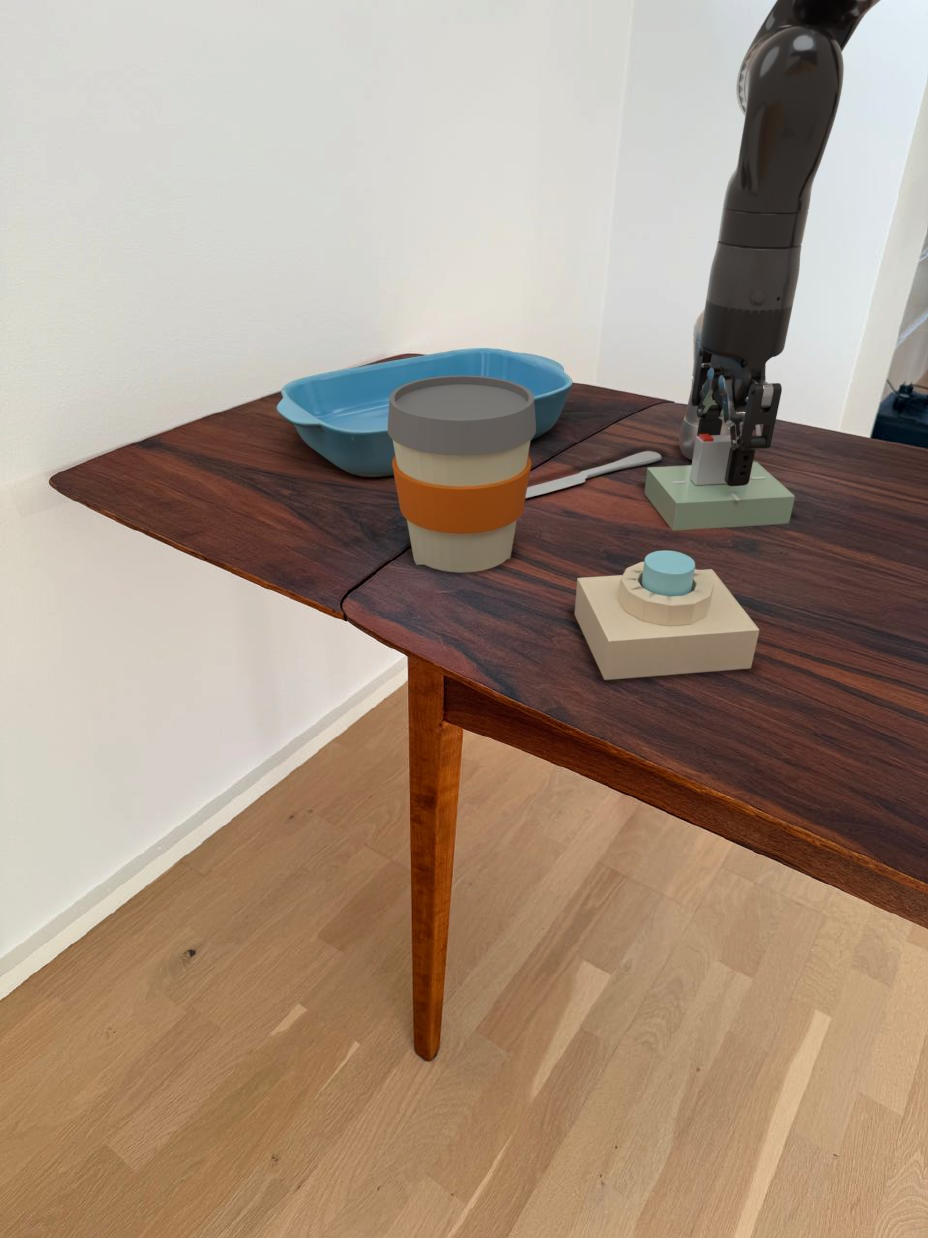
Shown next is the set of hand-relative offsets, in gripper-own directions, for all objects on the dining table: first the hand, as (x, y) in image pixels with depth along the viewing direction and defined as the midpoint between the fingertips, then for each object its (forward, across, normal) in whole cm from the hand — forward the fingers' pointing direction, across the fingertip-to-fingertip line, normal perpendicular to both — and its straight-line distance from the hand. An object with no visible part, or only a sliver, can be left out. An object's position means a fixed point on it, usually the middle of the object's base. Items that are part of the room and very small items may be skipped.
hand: (720, 468), depth 85 cm
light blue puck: (-1, -24, +14) cm, 28 cm away
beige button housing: (+4, -24, +14) cm, 28 cm away
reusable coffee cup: (+5, -7, +27) cm, 28 cm away
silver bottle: (+5, +13, -4) cm, 14 cm away
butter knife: (+4, +9, +12) cm, 16 cm away
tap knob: (+1, 0, 0) cm, 1 cm away
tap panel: (+4, 0, 0) cm, 4 cm away
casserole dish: (+5, +24, +27) cm, 36 cm away
